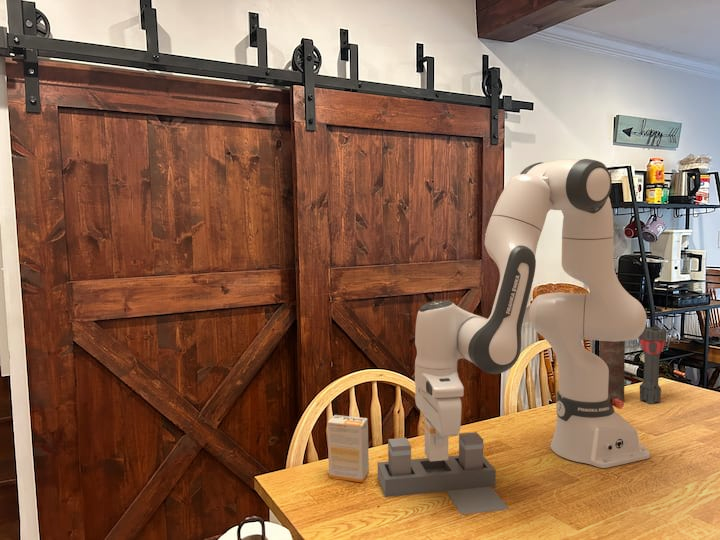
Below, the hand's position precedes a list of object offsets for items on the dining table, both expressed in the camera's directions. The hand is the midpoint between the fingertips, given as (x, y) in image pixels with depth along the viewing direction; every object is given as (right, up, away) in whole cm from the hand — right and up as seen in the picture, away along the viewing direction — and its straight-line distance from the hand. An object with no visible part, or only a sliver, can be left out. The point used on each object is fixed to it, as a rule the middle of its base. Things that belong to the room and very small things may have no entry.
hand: (435, 440), depth 113 cm
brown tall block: (+63, -4, +53) cm, 82 cm away
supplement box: (-19, -10, +5) cm, 22 cm away
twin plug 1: (-8, -8, 0) cm, 11 cm away
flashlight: (+75, -4, +53) cm, 92 cm away
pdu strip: (0, -10, +1) cm, 10 cm away
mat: (+7, -10, -5) cm, 14 cm away
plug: (0, -4, 0) cm, 4 cm away
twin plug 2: (+8, -8, +3) cm, 11 cm away
